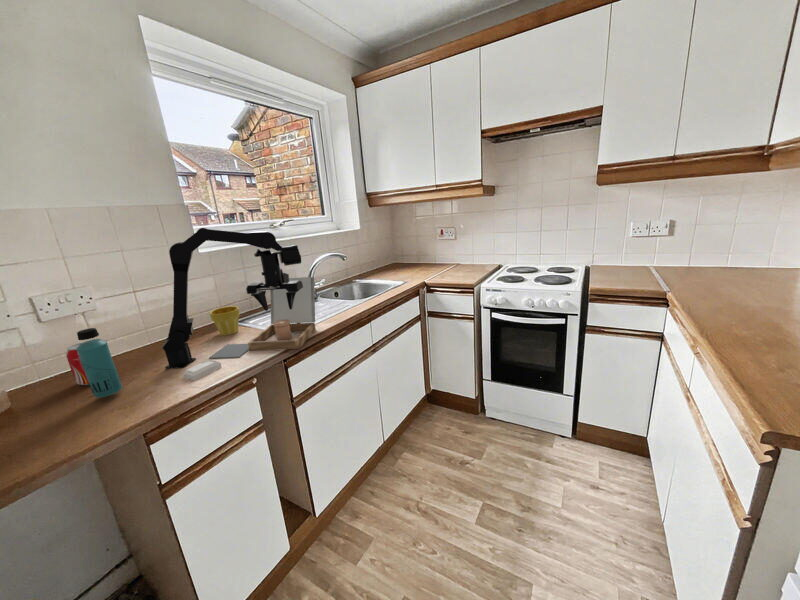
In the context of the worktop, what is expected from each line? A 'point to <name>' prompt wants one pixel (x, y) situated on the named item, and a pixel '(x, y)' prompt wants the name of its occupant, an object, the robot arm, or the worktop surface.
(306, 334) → the wooden tray
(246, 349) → the grey mat
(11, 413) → the worktop surface
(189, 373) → the soap bar
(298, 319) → the lid
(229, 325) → the plant pot
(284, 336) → the clay pot
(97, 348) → the beverage bottle
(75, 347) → the soda can
